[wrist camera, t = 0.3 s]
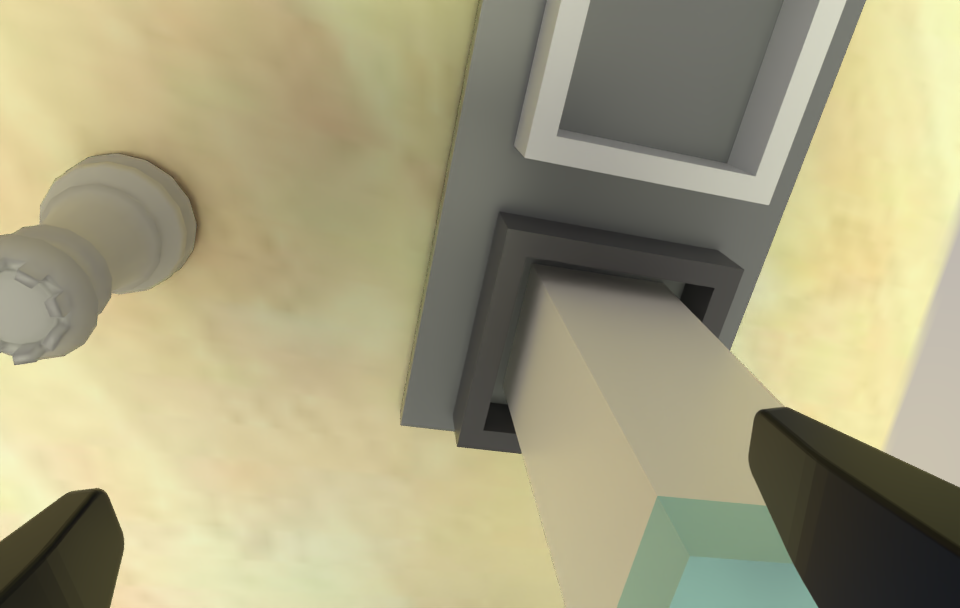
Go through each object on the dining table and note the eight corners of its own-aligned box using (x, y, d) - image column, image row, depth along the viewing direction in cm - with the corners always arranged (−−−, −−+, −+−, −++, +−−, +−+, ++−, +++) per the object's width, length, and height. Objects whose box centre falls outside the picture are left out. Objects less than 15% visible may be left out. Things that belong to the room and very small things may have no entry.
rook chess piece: (195, 154, 22) (95, 225, 15) (205, 282, 24) (121, 402, 16) (47, 146, 21) (-133, 215, 14) (69, 277, 23) (-82, 400, 16)
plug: (626, 400, 26) (839, 762, 14) (502, 385, 26) (608, 758, 13) (663, 283, 25) (950, 575, 12) (531, 263, 24) (690, 555, 11)
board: (678, 444, 29) (708, 489, 26) (400, 411, 27) (400, 456, 24) (876, -77, 22) (945, -89, 19) (514, -182, 19) (533, -213, 17)
